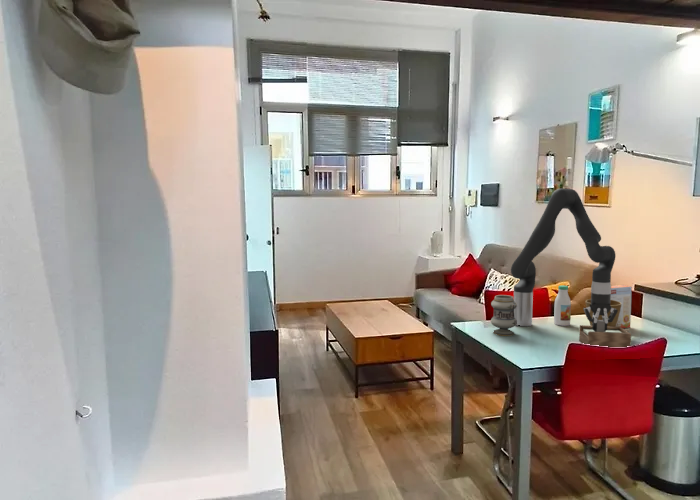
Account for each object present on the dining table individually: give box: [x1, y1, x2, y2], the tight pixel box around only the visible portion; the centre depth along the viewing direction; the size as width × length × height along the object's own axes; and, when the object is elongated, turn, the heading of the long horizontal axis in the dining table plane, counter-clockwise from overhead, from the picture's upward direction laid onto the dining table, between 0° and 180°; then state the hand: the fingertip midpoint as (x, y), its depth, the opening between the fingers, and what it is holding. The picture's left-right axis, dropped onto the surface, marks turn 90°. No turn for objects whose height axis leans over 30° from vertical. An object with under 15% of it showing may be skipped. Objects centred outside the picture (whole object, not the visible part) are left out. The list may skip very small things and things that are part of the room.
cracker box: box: [611, 284, 632, 329], centre depth 237 cm, size 14×6×21 cm, turn 106°
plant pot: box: [585, 298, 622, 326], centre depth 223 cm, size 15×15×16 cm
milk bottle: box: [553, 284, 572, 327], centre depth 244 cm, size 8×8×20 cm
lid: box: [583, 320, 622, 335], centre depth 206 cm, size 14×10×6 cm
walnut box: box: [578, 324, 632, 347], centre depth 207 cm, size 17×13×7 cm
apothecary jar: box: [490, 294, 518, 337], centre depth 228 cm, size 12×12×18 cm
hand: (599, 331), depth 207 cm, fingers closed on lid, 3 cm apart
